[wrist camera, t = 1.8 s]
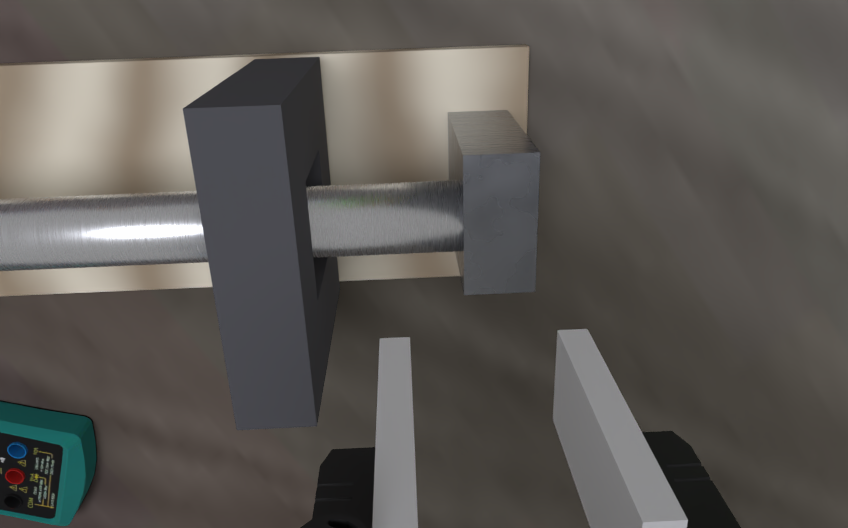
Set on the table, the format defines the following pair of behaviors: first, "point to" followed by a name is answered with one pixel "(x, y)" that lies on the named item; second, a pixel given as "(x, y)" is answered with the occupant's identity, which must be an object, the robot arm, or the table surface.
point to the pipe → (320, 216)
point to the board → (169, 150)
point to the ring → (266, 236)
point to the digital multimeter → (44, 463)
